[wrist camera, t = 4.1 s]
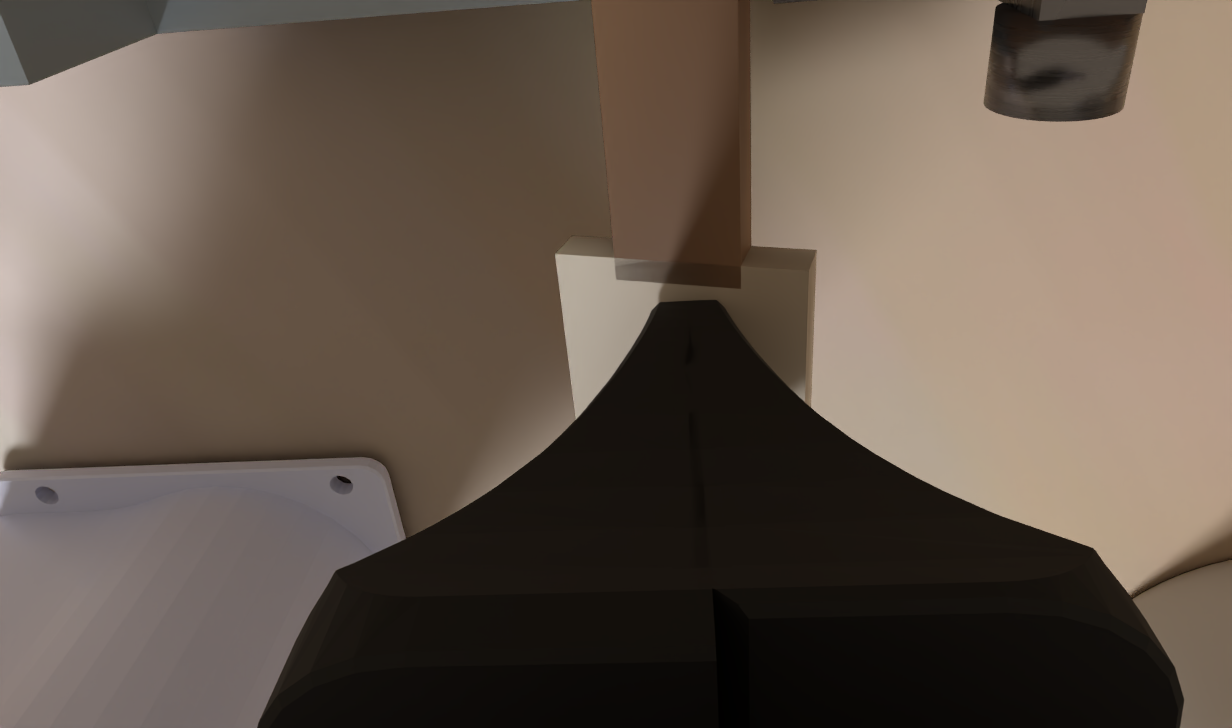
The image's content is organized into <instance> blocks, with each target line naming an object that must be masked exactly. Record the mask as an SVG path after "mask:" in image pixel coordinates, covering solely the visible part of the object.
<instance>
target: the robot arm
mask: <svg viewBox="0 0 1232 728" xmlns="http://www.w3.org/2000/svg"><path fill="white" fill-rule="evenodd" d="M336 476H343V477H346V478H347V479H349V480H350V481H351V482H352V483H350V484H349V483H343V482H342V481H340V480H339V479H338V478H337V477H336ZM48 487H49V488H50V489H52V490H54V491H55V492H56V493H55V492H53V491H52V490H50V489H49V488H48ZM1183 705H1184V697H1183V693H1182V690H1181V686H1180V683H1179V679H1178V676H1177V673H1176V669H1175V666H1174V665H1173V663H1172V661H1171V660H1170V658H1169V657H1168V655H1167V653H1166V652H1165V650H1164V648H1163V647H1162V645H1161V643H1160V642H1159V640H1158V639H1157V637H1156V635H1155V634H1154V632H1153V630H1152V629H1151V627H1150V625H1149V624H1148V622H1147V621H1146V619H1145V618H1144V616H1143V615H1142V613H1141V612H1140V610H1139V609H1138V607H1137V606H1136V604H1135V603H1134V601H1133V600H1132V598H1131V597H1130V595H1129V594H1128V593H1127V591H1126V590H1125V589H1124V588H1123V586H1122V585H1121V584H1120V583H1119V581H1118V580H1117V579H1116V578H1115V576H1114V575H1113V574H1112V572H1111V571H1110V570H1109V569H1108V567H1107V566H1106V565H1105V564H1104V562H1103V561H1102V559H1101V558H1100V557H1099V555H1098V554H1097V552H1096V551H1095V550H1094V549H1093V548H1091V547H1088V546H1085V545H1082V544H1080V543H1077V542H1074V541H1071V540H1068V539H1065V538H1062V537H1059V536H1057V535H1054V534H1051V533H1048V532H1045V531H1042V530H1039V529H1036V528H1033V527H1031V526H1028V525H1025V524H1022V523H1019V522H1016V521H1013V520H1010V519H1008V518H1005V517H1002V516H999V515H997V514H994V513H992V512H989V511H987V510H985V509H983V508H980V507H978V506H976V505H974V504H971V503H969V502H967V501H965V500H962V499H960V498H958V497H956V496H953V495H951V494H949V493H946V492H944V491H942V490H940V489H938V488H936V487H934V486H932V485H930V484H928V483H926V482H924V481H922V480H920V479H918V478H916V477H914V476H912V475H911V474H909V473H907V472H905V471H904V470H902V469H900V468H899V467H897V466H895V465H893V464H892V463H890V462H888V461H886V460H885V459H883V458H881V457H879V456H878V455H876V454H874V453H873V452H871V451H870V450H868V449H866V448H865V447H863V446H862V445H860V444H859V443H857V442H856V441H854V440H853V439H851V438H850V437H848V436H847V435H846V434H844V433H843V432H842V431H840V430H839V429H838V428H836V427H835V426H834V425H832V424H831V423H829V422H828V421H827V420H825V419H824V418H823V417H821V416H820V415H819V414H818V413H817V412H815V411H814V410H813V409H812V408H811V407H810V406H809V405H807V404H806V403H805V402H804V401H803V400H802V399H801V398H800V397H799V396H798V395H797V394H796V393H795V392H794V391H793V390H791V389H790V388H789V387H788V386H787V384H786V383H785V382H784V381H783V380H782V379H781V378H780V377H779V376H778V375H777V374H776V373H775V372H774V371H773V370H772V369H771V367H770V366H769V365H768V364H767V363H766V362H765V361H764V360H763V358H762V357H761V356H760V355H759V354H758V353H757V352H756V350H755V349H754V348H753V347H752V346H751V344H750V343H749V342H748V340H747V339H746V338H745V337H744V335H743V334H742V333H741V331H740V330H739V329H738V327H737V326H736V324H735V323H734V321H733V320H732V318H731V317H730V315H729V314H728V312H727V310H726V308H725V307H724V306H723V305H722V304H720V303H719V302H718V301H717V300H693V301H674V302H659V303H658V304H657V305H656V306H655V307H654V308H653V309H652V310H651V313H650V315H649V317H648V319H647V322H646V324H645V325H644V327H643V329H642V331H641V333H640V334H639V336H638V338H637V339H636V341H635V343H634V344H633V346H632V348H631V349H630V351H629V352H628V354H627V355H626V357H625V358H624V359H623V361H622V362H621V364H620V365H619V367H618V368H617V370H616V371H615V373H614V374H613V375H612V377H611V378H610V379H609V381H608V382H607V383H606V385H605V386H604V387H603V388H602V389H601V391H600V392H599V393H598V394H597V395H596V397H595V398H594V399H593V400H592V401H591V403H590V404H589V405H588V406H587V408H586V409H585V410H584V411H583V412H582V413H581V415H580V416H579V417H578V418H577V419H576V420H575V421H574V422H573V423H572V424H571V425H570V426H569V427H568V428H567V429H566V430H565V431H564V432H563V433H562V434H561V435H560V436H559V437H558V438H557V439H556V440H555V441H554V442H553V443H552V444H551V445H550V446H549V447H548V448H547V449H545V450H544V451H543V452H542V453H541V454H539V455H538V456H537V457H535V458H534V459H533V460H531V461H530V462H529V463H527V464H526V465H525V466H523V467H522V468H521V469H519V470H518V471H517V472H515V473H514V474H513V475H511V476H510V477H509V478H507V479H506V480H505V481H503V482H502V483H501V484H499V485H498V486H497V487H495V488H494V489H492V490H491V491H489V492H488V493H486V494H485V495H483V496H482V497H480V498H478V499H477V500H475V501H474V502H472V503H470V504H469V505H467V506H466V507H464V508H462V509H461V510H459V511H457V512H455V513H454V514H452V515H450V516H448V517H447V518H445V519H443V520H441V521H440V522H438V523H436V524H434V525H432V526H431V527H429V528H427V529H425V530H423V531H421V532H419V533H417V534H415V535H413V536H411V537H409V538H407V539H406V537H405V533H404V530H403V526H402V522H401V518H400V514H399V511H398V507H397V503H396V499H395V495H394V492H393V488H392V484H391V480H390V476H389V473H388V471H387V469H386V467H384V466H383V465H382V464H381V463H380V462H379V461H376V460H374V459H372V458H366V457H353V458H326V459H299V460H273V461H246V462H219V463H193V464H166V465H139V466H113V467H86V468H59V469H33V470H6V471H2V472H0V728H1180V725H1181V718H1182V712H1183Z"/></svg>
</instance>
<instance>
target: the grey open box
mask: <svg viewBox="0 0 1232 728" xmlns="http://www.w3.org/2000/svg"><path fill="white" fill-rule="evenodd" d="M565 1H577V0H0V87H6V86H20V85H30V84H33V83H35V82H38V81H40V80H43V79H45V78H48V77H50V76H53V75H55V74H58V73H60V72H63V71H65V70H68V69H70V68H73V67H75V66H78V65H80V64H83V63H85V62H88V61H90V60H93V59H95V58H98V57H100V56H103V55H105V54H108V53H110V52H113V51H115V50H118V49H120V48H123V47H125V46H128V45H130V44H133V43H135V42H138V41H140V40H143V39H145V38H148V37H150V36H153V35H155V34H161V33H173V32H186V31H198V30H211V29H224V28H236V27H249V26H262V25H274V24H287V23H300V22H312V21H325V20H337V19H350V18H363V17H375V16H388V15H401V14H413V13H426V12H438V11H451V10H464V9H476V8H489V7H502V6H514V5H527V4H540V3H552V2H565Z"/></svg>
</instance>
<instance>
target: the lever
mask: <svg viewBox="0 0 1232 728" xmlns="http://www.w3.org/2000/svg"><path fill="white" fill-rule="evenodd" d="M591 5H592V16H593V27H594V38H595V50H596V61H597V72H598V83H599V94H600V106H601V117H602V128H603V139H604V151H605V162H606V173H607V184H608V195H609V207H610V218H611V229H612V238H604V237H587V236H571V237H570V238H569V240H568V241H567V242H566V243H565V244H564V245H563V246H562V247H561V248H560V249H559V250H558V251H557V252H556V253H555V258H556V266H557V274H558V282H559V290H560V298H561V306H562V314H563V322H564V330H565V338H566V346H567V354H568V362H569V370H570V378H571V386H572V394H573V402H574V410H575V418H576V419H577V418H578V417H579V416H580V415H581V413H582V412H583V411H584V410H585V409H586V408H587V406H588V405H589V404H590V403H591V401H592V400H593V399H594V398H595V397H596V395H597V394H598V393H599V392H600V391H601V389H602V388H603V387H604V386H605V385H606V383H607V382H608V381H609V379H610V378H611V377H612V375H613V374H614V373H615V371H616V370H617V368H618V367H619V365H620V364H621V362H622V361H623V359H624V358H625V357H626V355H627V354H628V352H629V351H630V349H631V348H632V346H633V344H634V343H635V341H636V339H637V338H638V336H639V334H640V333H641V331H642V329H643V327H644V325H645V324H646V322H647V319H648V317H649V315H650V313H651V310H652V309H653V308H654V307H655V306H656V305H657V304H658V303H659V302H674V301H693V300H717V301H718V302H719V303H720V304H722V305H723V306H724V307H725V308H726V310H727V312H728V314H729V315H730V317H731V318H732V320H733V321H734V323H735V324H736V326H737V327H738V329H739V330H740V331H741V333H742V334H743V335H744V337H745V338H746V339H747V340H748V342H749V343H750V344H751V346H752V347H753V348H754V349H755V350H756V352H757V353H758V354H759V355H760V356H761V357H762V358H763V360H764V361H765V362H766V363H767V364H768V365H769V366H770V367H771V369H772V370H773V371H774V372H775V373H776V374H777V375H778V376H779V377H780V378H781V379H782V380H783V381H784V382H785V383H786V384H787V386H788V387H789V388H790V389H791V390H793V391H794V392H795V393H796V394H797V395H798V396H799V397H800V398H801V399H802V400H803V401H804V402H805V403H806V404H807V405H809V406H810V407H811V392H812V363H813V335H814V307H815V279H816V250H807V249H790V248H773V247H756V246H751V94H750V0H591Z"/></svg>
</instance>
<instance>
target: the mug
mask: <svg viewBox="0 0 1232 728" xmlns="http://www.w3.org/2000/svg"><path fill="white" fill-rule="evenodd" d="M1132 600H1133V601H1134V603H1135V604H1136V606H1137V607H1138V609H1139V610H1140V612H1141V613H1142V615H1143V616H1144V618H1145V619H1146V621H1147V622H1148V624H1149V625H1150V627H1151V629H1152V630H1153V632H1154V634H1155V635H1156V637H1157V639H1158V640H1159V642H1160V643H1161V645H1162V647H1163V648H1164V650H1165V652H1166V653H1167V655H1168V657H1169V658H1170V660H1171V661H1172V663H1173V665H1174V666H1175V669H1176V673H1177V676H1178V679H1179V683H1180V686H1181V690H1182V693H1183V697H1184V705H1183V712H1182V718H1181V725H1180V728H1232V560H1228V561H1224V562H1220V563H1215V564H1211V565H1208V566H1205V567H1201V568H1198V569H1195V570H1192V571H1189V572H1186V573H1183V574H1181V575H1179V576H1176V577H1174V578H1172V579H1169V580H1167V581H1165V582H1162V583H1160V584H1158V585H1156V586H1155V587H1153V588H1151V589H1149V590H1147V591H1145V592H1143V593H1141V594H1140V595H1138V596H1136V597H1135V598H1133V599H1132Z"/></svg>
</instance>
